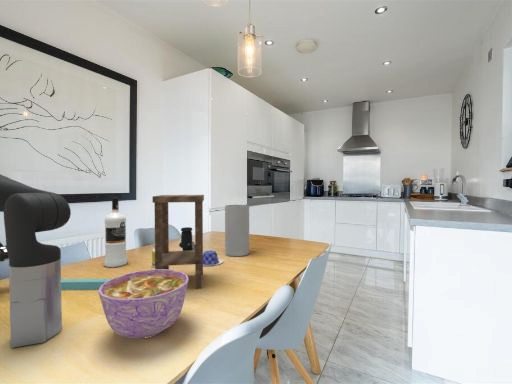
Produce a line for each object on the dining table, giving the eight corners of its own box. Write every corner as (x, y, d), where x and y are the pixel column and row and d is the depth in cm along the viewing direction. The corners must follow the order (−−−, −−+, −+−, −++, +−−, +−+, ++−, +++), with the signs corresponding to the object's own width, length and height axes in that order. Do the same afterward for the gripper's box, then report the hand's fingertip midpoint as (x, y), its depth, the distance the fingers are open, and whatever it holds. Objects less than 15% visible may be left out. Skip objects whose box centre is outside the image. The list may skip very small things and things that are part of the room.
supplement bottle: (160, 267, 112) (160, 245, 112) (149, 267, 113) (149, 244, 113) (167, 264, 117) (167, 242, 117) (156, 263, 118) (156, 242, 118)
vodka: (117, 260, 123) (117, 197, 122) (132, 263, 119) (131, 197, 119) (99, 266, 114) (98, 197, 114) (114, 268, 111) (113, 198, 110)
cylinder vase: (221, 255, 131) (220, 206, 131) (230, 250, 143) (230, 204, 143) (244, 257, 128) (244, 206, 127) (252, 251, 140) (252, 205, 139)
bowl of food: (161, 303, 78) (161, 264, 78) (205, 326, 65) (205, 279, 65) (85, 332, 62) (84, 284, 62) (123, 369, 50) (122, 309, 49)
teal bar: (41, 291, 88) (41, 282, 88) (48, 287, 91) (48, 279, 91) (114, 290, 89) (114, 281, 88) (118, 287, 92) (118, 278, 91)
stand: (153, 292, 86) (152, 196, 86) (162, 275, 102) (161, 195, 101) (202, 288, 89) (202, 196, 88) (204, 273, 105) (203, 194, 104)
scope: (194, 229, 127) (175, 229, 129) (194, 258, 127) (175, 257, 129) (201, 227, 135) (183, 226, 137) (201, 254, 135) (183, 253, 137)
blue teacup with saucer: (206, 269, 111) (206, 256, 111) (191, 263, 120) (191, 252, 120) (228, 263, 120) (228, 251, 120) (212, 258, 128) (212, 247, 128)
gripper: (-43, 246, 78) (19, 244, 80) (-3, 237, 92) (48, 236, 95) (-42, 271, 78) (19, 269, 81) (-3, 258, 92) (48, 256, 95)
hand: (34, 251), depth 88 cm, fingers open, 8 cm apart
